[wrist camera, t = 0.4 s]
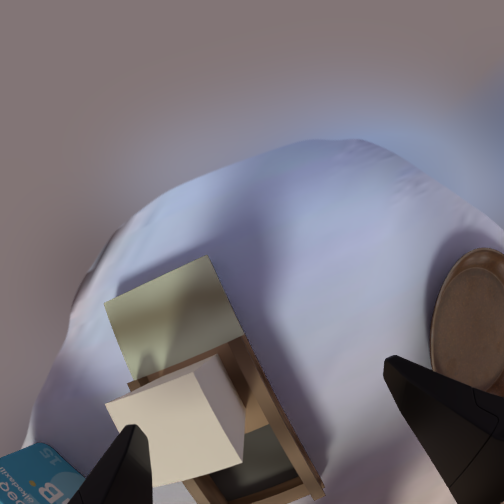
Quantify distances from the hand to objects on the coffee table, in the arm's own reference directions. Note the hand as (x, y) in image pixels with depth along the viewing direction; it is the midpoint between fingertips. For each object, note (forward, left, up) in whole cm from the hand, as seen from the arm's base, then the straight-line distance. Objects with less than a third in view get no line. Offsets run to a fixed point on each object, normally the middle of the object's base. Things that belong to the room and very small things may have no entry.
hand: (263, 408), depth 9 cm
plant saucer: (-15, -18, -16) cm, 29 cm away
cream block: (+1, +5, -13) cm, 14 cm away
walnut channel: (-1, +5, -15) cm, 16 cm away
